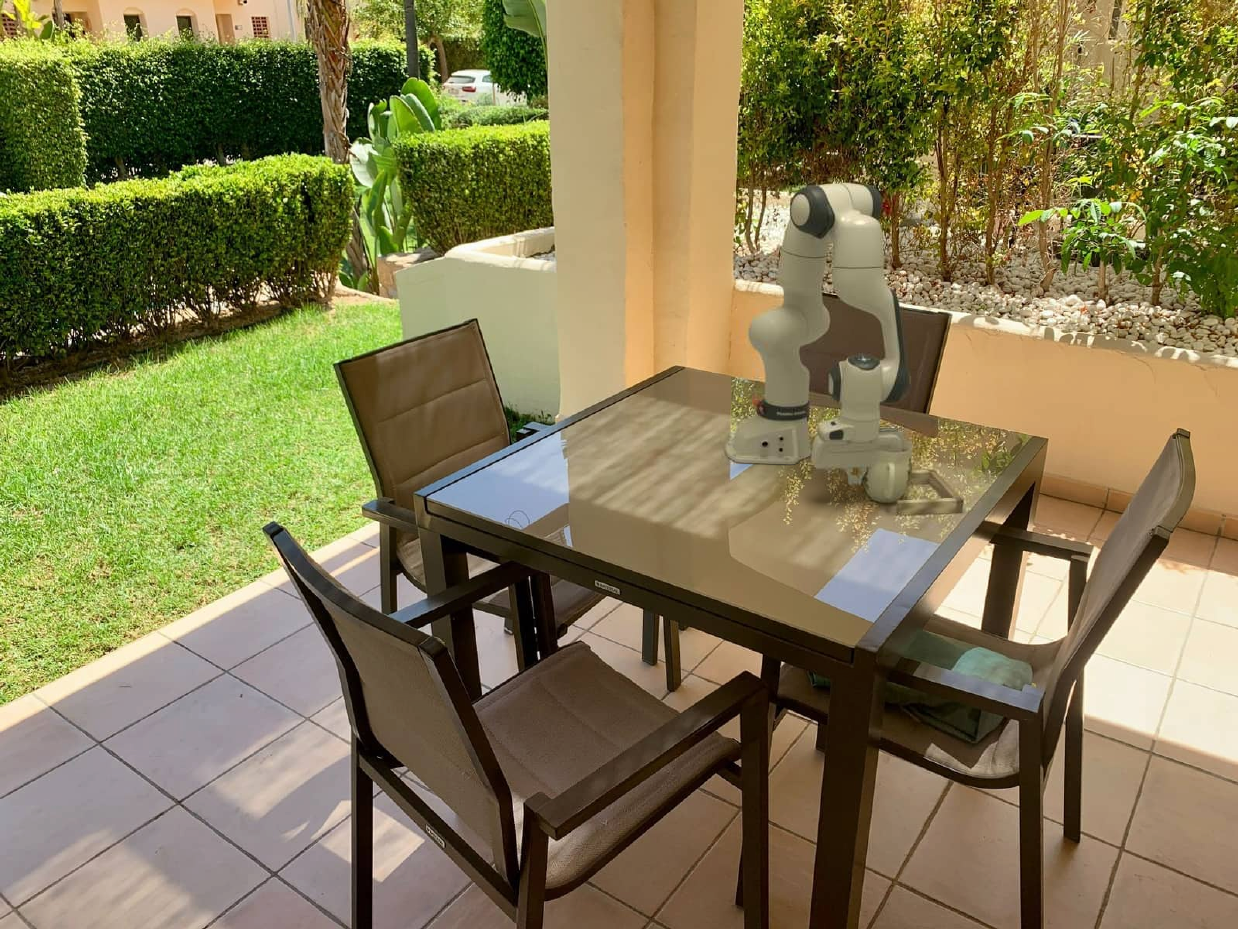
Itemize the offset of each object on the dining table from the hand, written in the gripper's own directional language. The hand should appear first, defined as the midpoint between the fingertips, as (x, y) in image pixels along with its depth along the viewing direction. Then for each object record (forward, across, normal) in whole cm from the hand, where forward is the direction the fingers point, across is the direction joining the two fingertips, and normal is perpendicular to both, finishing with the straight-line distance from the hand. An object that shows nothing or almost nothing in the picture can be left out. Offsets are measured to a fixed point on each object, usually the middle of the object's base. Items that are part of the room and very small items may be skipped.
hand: (854, 483), depth 213 cm
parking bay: (+4, -15, 0) cm, 15 cm away
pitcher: (+4, -7, 0) cm, 9 cm away
